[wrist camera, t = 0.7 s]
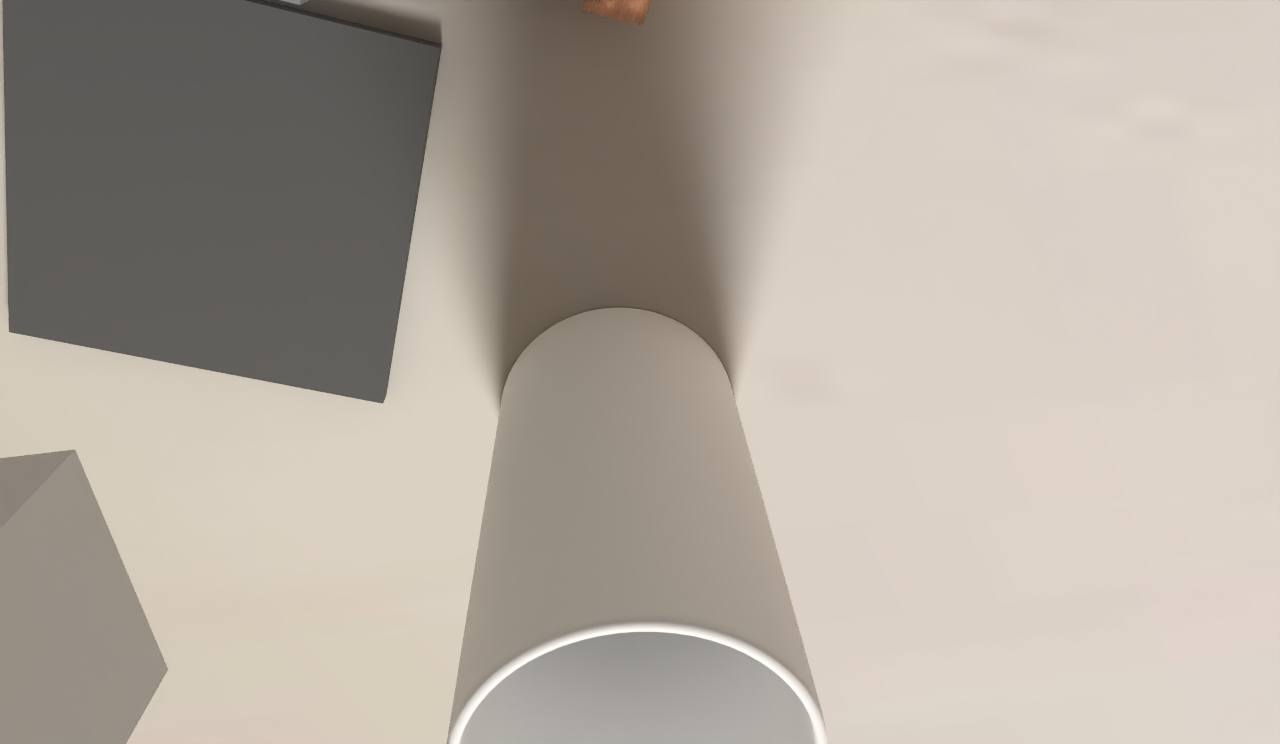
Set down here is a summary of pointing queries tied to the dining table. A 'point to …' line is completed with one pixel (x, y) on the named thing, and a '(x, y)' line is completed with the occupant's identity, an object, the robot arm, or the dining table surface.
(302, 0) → the frame
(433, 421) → the dining table surface
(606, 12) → the plunger
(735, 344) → the dining table surface
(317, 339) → the mat
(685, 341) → the cup
